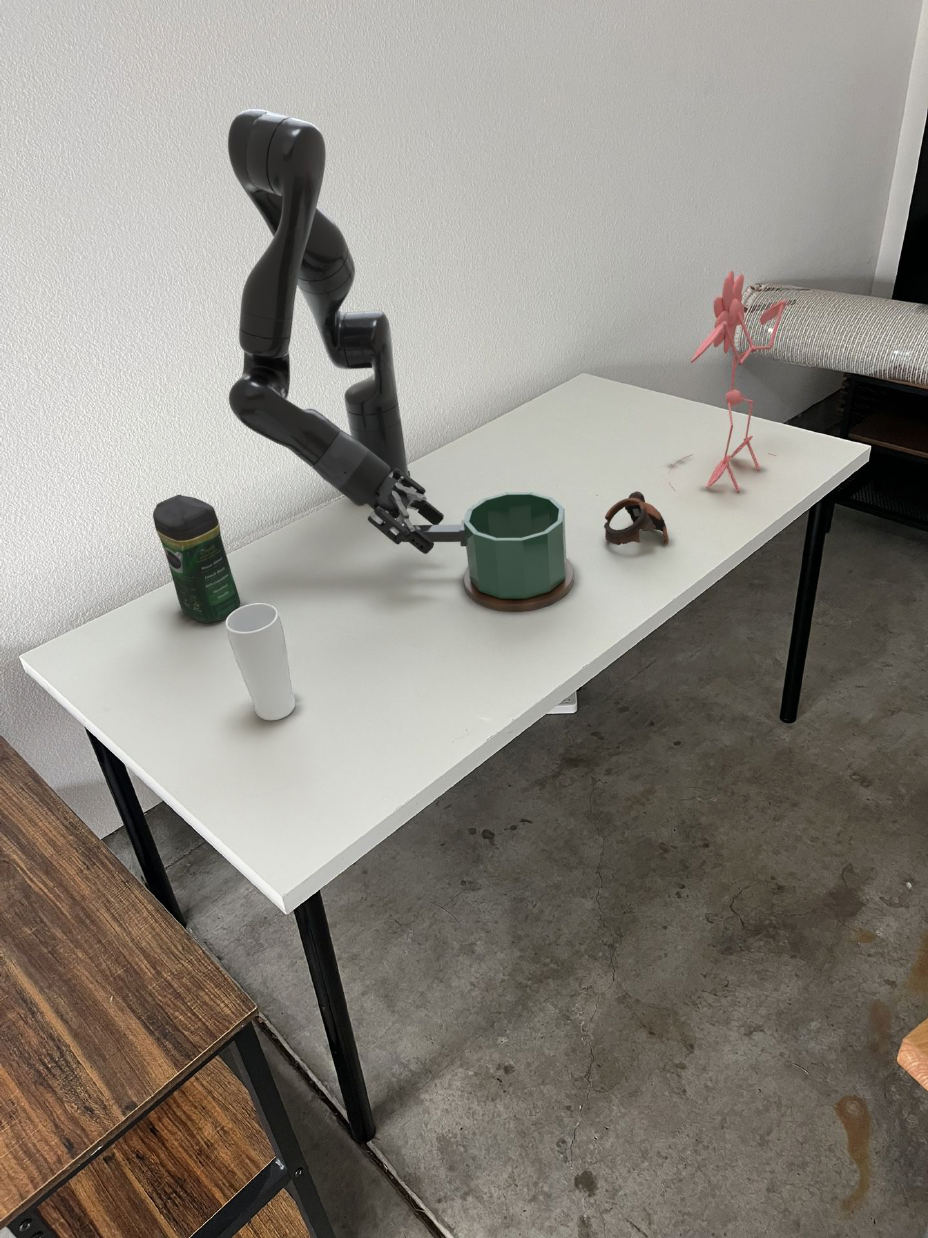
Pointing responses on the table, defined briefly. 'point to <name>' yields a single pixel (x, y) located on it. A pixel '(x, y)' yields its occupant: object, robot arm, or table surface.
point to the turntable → (520, 604)
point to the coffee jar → (196, 558)
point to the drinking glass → (262, 658)
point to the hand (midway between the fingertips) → (435, 535)
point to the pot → (510, 544)
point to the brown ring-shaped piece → (634, 520)
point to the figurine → (728, 317)
